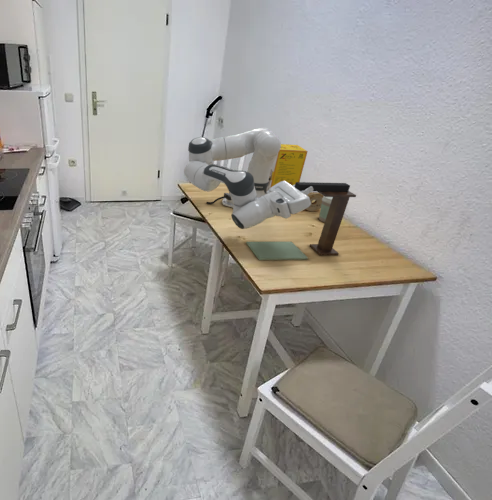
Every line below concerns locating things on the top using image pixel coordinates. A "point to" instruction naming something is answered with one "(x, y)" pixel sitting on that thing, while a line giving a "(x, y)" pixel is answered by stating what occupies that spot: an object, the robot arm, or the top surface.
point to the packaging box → (287, 165)
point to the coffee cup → (325, 208)
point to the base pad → (276, 251)
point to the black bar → (323, 186)
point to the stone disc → (317, 203)
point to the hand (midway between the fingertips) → (309, 185)
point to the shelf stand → (332, 222)
